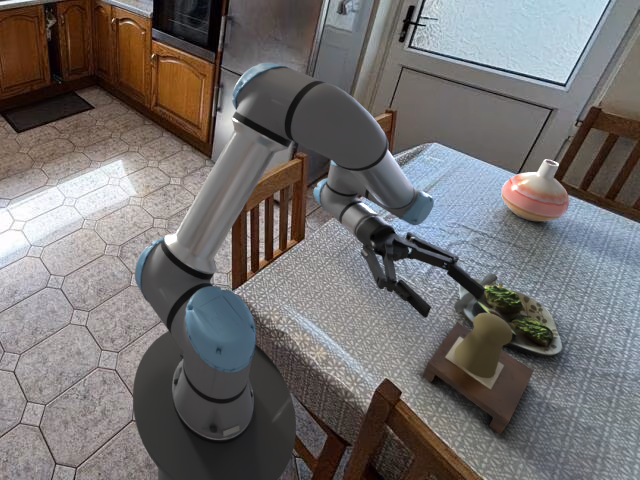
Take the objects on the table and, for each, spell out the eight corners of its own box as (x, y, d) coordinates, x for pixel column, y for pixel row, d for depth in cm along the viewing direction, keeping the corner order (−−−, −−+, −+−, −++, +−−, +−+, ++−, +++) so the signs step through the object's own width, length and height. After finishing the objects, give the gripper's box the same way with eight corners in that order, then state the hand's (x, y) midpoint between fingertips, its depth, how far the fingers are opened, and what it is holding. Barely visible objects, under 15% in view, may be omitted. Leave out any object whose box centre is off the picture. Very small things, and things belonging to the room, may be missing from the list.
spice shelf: (421, 375, 79) (428, 361, 77) (451, 334, 86) (457, 321, 84) (500, 434, 70) (509, 421, 68) (525, 383, 77) (534, 369, 75)
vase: (570, 235, 110) (601, 182, 103) (508, 224, 114) (534, 172, 107) (541, 203, 122) (567, 153, 114) (486, 194, 126) (508, 145, 118)
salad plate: (448, 264, 102) (454, 250, 100) (544, 297, 93) (553, 283, 91) (451, 325, 88) (458, 310, 86) (566, 372, 79) (576, 356, 77)
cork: (462, 372, 75) (483, 333, 70) (449, 341, 80) (468, 303, 75) (501, 382, 73) (526, 342, 69) (486, 350, 78) (508, 311, 74)
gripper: (405, 228, 102) (496, 299, 83) (320, 251, 96) (398, 333, 77) (414, 204, 99) (510, 273, 80) (327, 226, 92) (409, 306, 74)
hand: (455, 303), depth 79 cm, fingers open, 13 cm apart
